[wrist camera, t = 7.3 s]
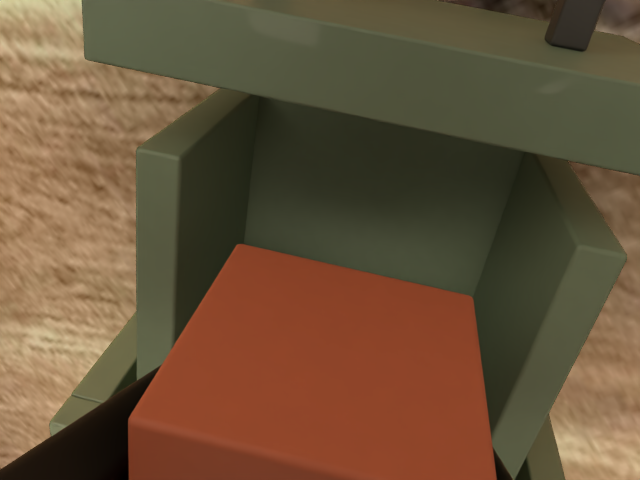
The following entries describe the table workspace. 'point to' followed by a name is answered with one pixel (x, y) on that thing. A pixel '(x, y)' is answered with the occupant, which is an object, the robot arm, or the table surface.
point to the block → (317, 381)
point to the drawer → (388, 164)
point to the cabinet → (121, 371)
